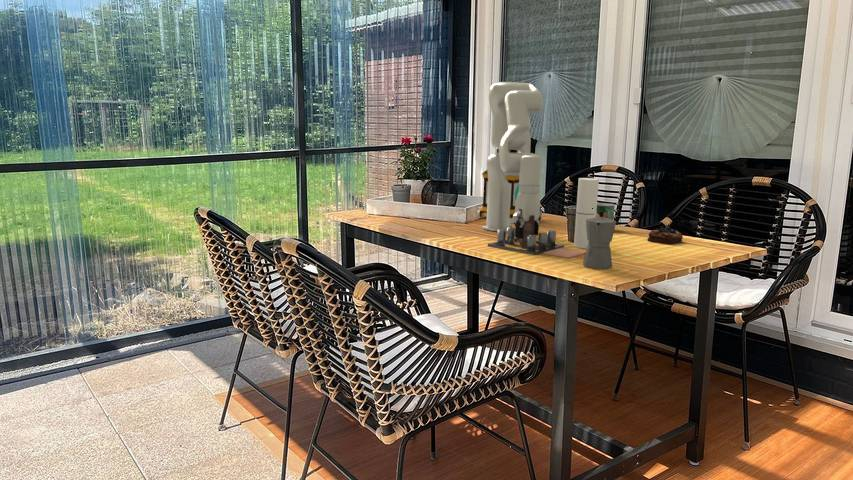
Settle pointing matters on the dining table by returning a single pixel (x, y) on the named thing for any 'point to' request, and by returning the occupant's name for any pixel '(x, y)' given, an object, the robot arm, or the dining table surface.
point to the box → (527, 231)
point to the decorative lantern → (514, 192)
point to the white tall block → (585, 209)
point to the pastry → (665, 236)
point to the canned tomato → (605, 210)
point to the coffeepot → (599, 242)
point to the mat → (564, 253)
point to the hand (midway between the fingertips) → (526, 236)
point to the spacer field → (543, 242)
